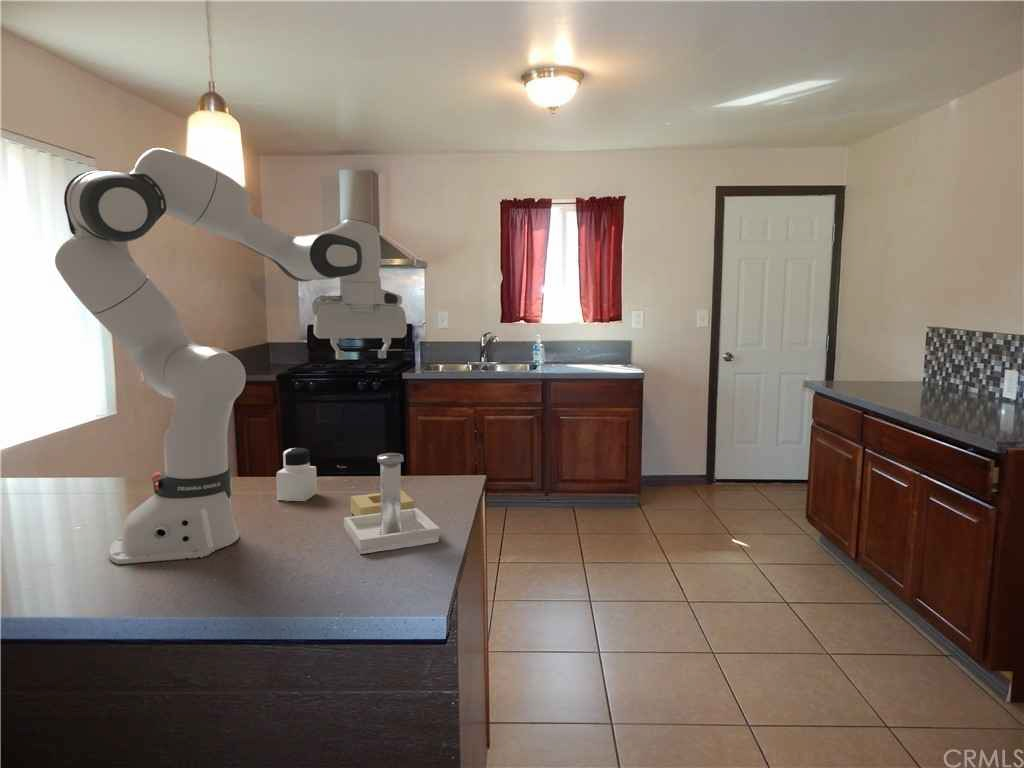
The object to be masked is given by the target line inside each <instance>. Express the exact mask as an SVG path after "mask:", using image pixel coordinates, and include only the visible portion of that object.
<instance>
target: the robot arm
mask: <svg viewBox="0 0 1024 768" xmlns="http://www.w3.org/2000/svg"><path fill="white" fill-rule="evenodd" d="M63 203H64V208H65V209H64V210H65V212H66V213H65V214H66V217H67V221H68V222H67V223H68V227H69V231H70V233H71V234H72V235H73V236H72V237H71V238H69V239H68V240H67V241H65V242H64V243H63V244H61V246H60V247H59V249H58V250H57V252H56V254H55V257H54V258H55V259H54V263H55V264H54V266H55V267H56V269H57V271H58V272H59V274H60V276H61V277H62V279H63V280H64V282H65V283H66V285H67V286H68V288H69V289H70V290H71V291H72V293H73V294H74V296H76V298H77V299H78V300H79V301H80V302H81V304H82V305H83V306H84V307H85V308H86V309H87V310H88V311H89V312H90V313H91V314H92V315H93V317H95V319H96V320H97V321H98V322H99V323H101V324H102V326H103V327H104V328H105V329H106V331H108V332H109V333H110V334H111V335H112V336H113V337H114V338H115V339H116V340H117V341H118V343H119V344H120V345H121V346H122V347H123V348H124V349H125V351H126V352H127V353H128V355H129V357H130V358H131V359H132V360H133V362H134V363H135V365H136V367H137V368H138V370H139V371H140V372H141V374H142V377H143V379H144V381H145V383H146V384H147V385H148V386H149V387H150V388H151V389H152V390H153V391H155V392H157V393H158V394H160V395H161V396H162V397H163V396H164V397H166V398H169V399H174V406H173V413H172V415H171V416H172V417H171V421H170V424H169V426H168V427H167V429H166V430H165V432H164V435H163V449H164V450H163V452H164V469H165V472H164V473H162V472H159V471H156V472H154V473H153V474H152V475H151V481H152V483H153V490H154V491H153V493H154V494H153V495H151V497H149V498H147V499H146V500H145V501H144V502H143V503H141V504H140V505H139V506H137V508H135V509H134V510H132V511H131V512H130V513H129V515H128V516H127V518H126V519H125V521H124V524H123V528H122V532H121V533H122V535H121V536H120V537H117V538H116V539H115V540H114V541H113V542H112V543H111V544H110V547H109V551H108V557H109V560H110V561H111V562H113V563H115V564H118V565H121V564H122V565H125V564H137V563H148V562H160V561H161V562H162V561H174V560H186V558H188V559H197V558H198V557H200V558H204V556H205V557H207V555H208V556H210V555H211V554H213V553H214V552H216V551H218V550H221V549H222V548H226V547H228V546H230V545H232V544H234V543H235V542H236V541H237V540H238V539H239V538H240V533H239V531H238V528H237V524H236V522H235V521H236V520H235V517H234V513H233V507H232V502H231V497H232V492H233V491H232V489H233V488H232V486H233V485H232V474H231V470H230V468H229V465H228V428H229V422H230V418H231V414H232V410H233V406H234V403H235V401H236V399H237V398H238V397H239V396H240V395H241V394H242V392H243V390H244V388H245V385H246V382H247V381H246V380H247V375H246V373H247V372H246V369H245V366H244V365H243V363H242V362H241V360H240V359H239V358H237V357H236V356H235V355H233V354H232V353H230V352H227V351H225V350H223V349H222V348H219V347H214V346H207V345H206V346H205V345H200V344H198V343H196V342H195V341H193V340H192V339H191V338H190V337H189V335H188V334H187V332H186V330H185V329H184V327H183V325H182V323H181V321H180V319H179V313H178V309H177V308H176V307H175V305H174V304H173V303H172V302H171V300H169V298H168V297H167V296H166V295H165V294H164V293H163V292H162V290H161V289H160V288H159V287H158V286H157V285H156V284H155V282H154V281H153V280H152V279H151V278H150V276H149V275H147V273H146V272H145V271H144V269H142V268H141V266H140V265H139V264H138V263H137V262H136V261H135V259H134V258H133V256H132V254H131V253H130V250H129V244H128V242H131V241H132V242H133V241H136V240H137V239H140V238H142V237H143V236H145V235H146V234H147V233H148V232H149V231H150V230H151V229H152V228H153V226H154V225H155V224H156V223H157V222H158V220H160V218H162V216H163V215H167V216H170V217H173V218H176V219H177V220H180V221H182V222H184V223H186V224H188V225H190V226H192V227H195V228H197V229H199V230H201V231H205V232H207V233H210V234H211V235H212V234H213V235H215V236H219V237H222V238H226V239H229V240H231V241H234V242H236V243H238V244H240V245H241V246H244V247H246V248H248V249H249V250H252V251H254V252H255V253H257V254H259V255H261V256H264V257H265V258H267V259H268V260H270V261H272V262H273V263H274V264H275V265H276V266H277V267H279V269H280V270H281V271H282V272H283V273H284V274H285V275H286V276H287V277H289V278H290V279H292V280H294V281H297V282H310V281H315V280H317V281H321V280H323V281H324V280H334V279H338V278H339V295H323V294H322V295H319V296H318V297H316V298H314V300H313V301H312V303H311V305H312V314H314V321H313V335H314V336H315V337H316V338H317V339H330V340H329V341H330V345H331V347H332V348H333V349H334V351H335V360H344V359H345V356H344V355H345V351H344V350H340V347H339V346H338V345H337V344H339V341H340V339H382V343H384V344H383V345H382V348H381V349H378V350H377V358H378V359H387V350H388V349H390V348H389V347H390V345H391V344H392V339H404V337H405V336H406V335H407V333H408V331H407V329H408V326H407V325H408V324H407V318H406V317H407V316H406V312H405V308H403V307H402V306H401V305H402V303H403V297H402V296H401V295H400V294H397V293H394V292H392V291H388V290H385V289H383V288H382V279H381V277H380V276H381V275H380V267H381V264H382V262H381V261H382V254H381V251H382V250H381V239H380V234H379V231H378V228H377V227H376V226H374V224H372V223H370V222H367V221H365V220H359V219H353V218H351V219H344V220H342V222H341V223H340V224H339V225H337V226H334V227H333V228H331V229H327V230H325V231H322V232H319V233H311V234H289V233H285V232H283V231H281V230H279V229H278V228H276V227H274V226H272V225H271V224H269V223H267V222H265V221H263V220H261V219H260V218H258V217H256V216H255V215H254V214H253V213H252V201H251V199H250V195H249V193H248V191H247V189H246V188H244V187H243V186H242V185H241V184H239V183H238V182H237V181H235V180H234V179H232V177H230V176H229V175H226V174H224V173H223V172H221V171H219V170H217V169H215V168H214V167H211V166H209V165H207V164H206V163H203V162H202V161H199V160H196V159H194V158H192V157H189V156H187V155H185V154H181V153H178V152H176V151H172V150H169V149H166V148H163V147H162V148H160V147H156V148H151V149H149V150H147V151H146V152H144V153H143V154H142V155H141V156H140V157H139V158H138V160H137V162H136V163H135V165H134V169H132V170H131V171H130V172H129V173H128V172H127V173H124V172H114V171H112V170H111V171H110V170H91V171H86V172H82V173H79V174H78V175H76V176H75V177H73V178H72V179H71V180H70V182H69V183H68V184H67V186H66V188H65V190H64V196H63ZM225 546H226V547H225ZM220 548H221V549H220ZM217 549H218V550H217ZM215 550H216V551H215ZM212 552H213V553H212ZM209 554H210V555H209ZM198 559H199V558H198Z"/></svg>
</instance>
